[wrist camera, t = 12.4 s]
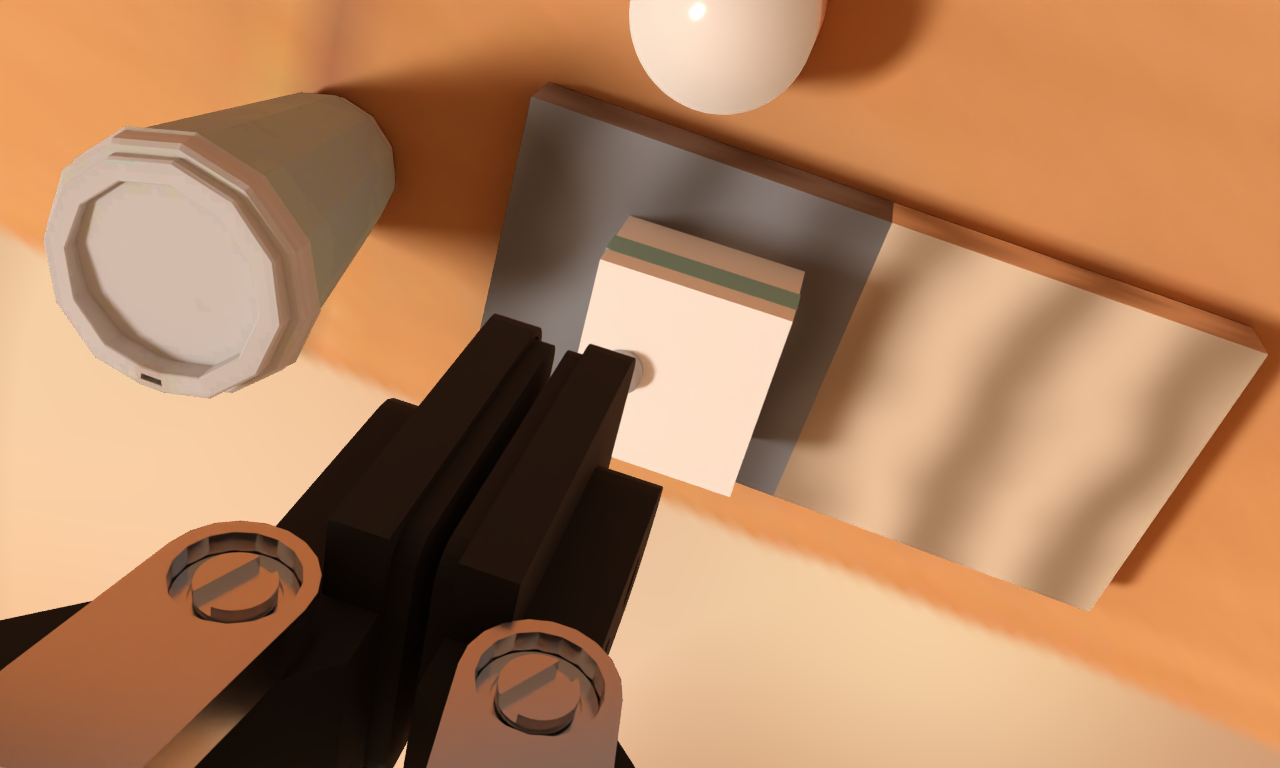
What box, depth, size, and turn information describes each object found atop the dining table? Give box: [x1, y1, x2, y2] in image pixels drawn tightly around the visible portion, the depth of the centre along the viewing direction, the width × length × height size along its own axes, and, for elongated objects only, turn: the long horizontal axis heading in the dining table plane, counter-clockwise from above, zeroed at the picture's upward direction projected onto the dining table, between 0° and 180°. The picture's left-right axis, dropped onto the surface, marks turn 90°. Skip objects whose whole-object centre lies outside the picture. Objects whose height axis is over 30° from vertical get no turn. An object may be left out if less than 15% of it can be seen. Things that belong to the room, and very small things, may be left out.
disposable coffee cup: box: [43, 93, 395, 398], centre depth 45 cm, size 11×11×15 cm
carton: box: [578, 216, 805, 497], centre depth 47 cm, size 8×9×6 cm
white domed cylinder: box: [629, 0, 827, 115], centre depth 42 cm, size 7×7×5 cm
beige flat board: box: [480, 82, 1268, 612], centre depth 49 cm, size 32×15×2 cm, turn 74°
